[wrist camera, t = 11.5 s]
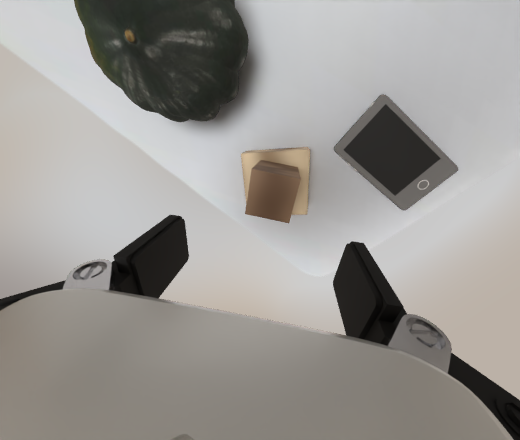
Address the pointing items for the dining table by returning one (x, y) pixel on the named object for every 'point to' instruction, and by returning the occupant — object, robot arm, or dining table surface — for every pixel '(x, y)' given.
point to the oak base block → (287, 157)
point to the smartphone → (394, 154)
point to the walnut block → (272, 190)
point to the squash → (168, 52)
